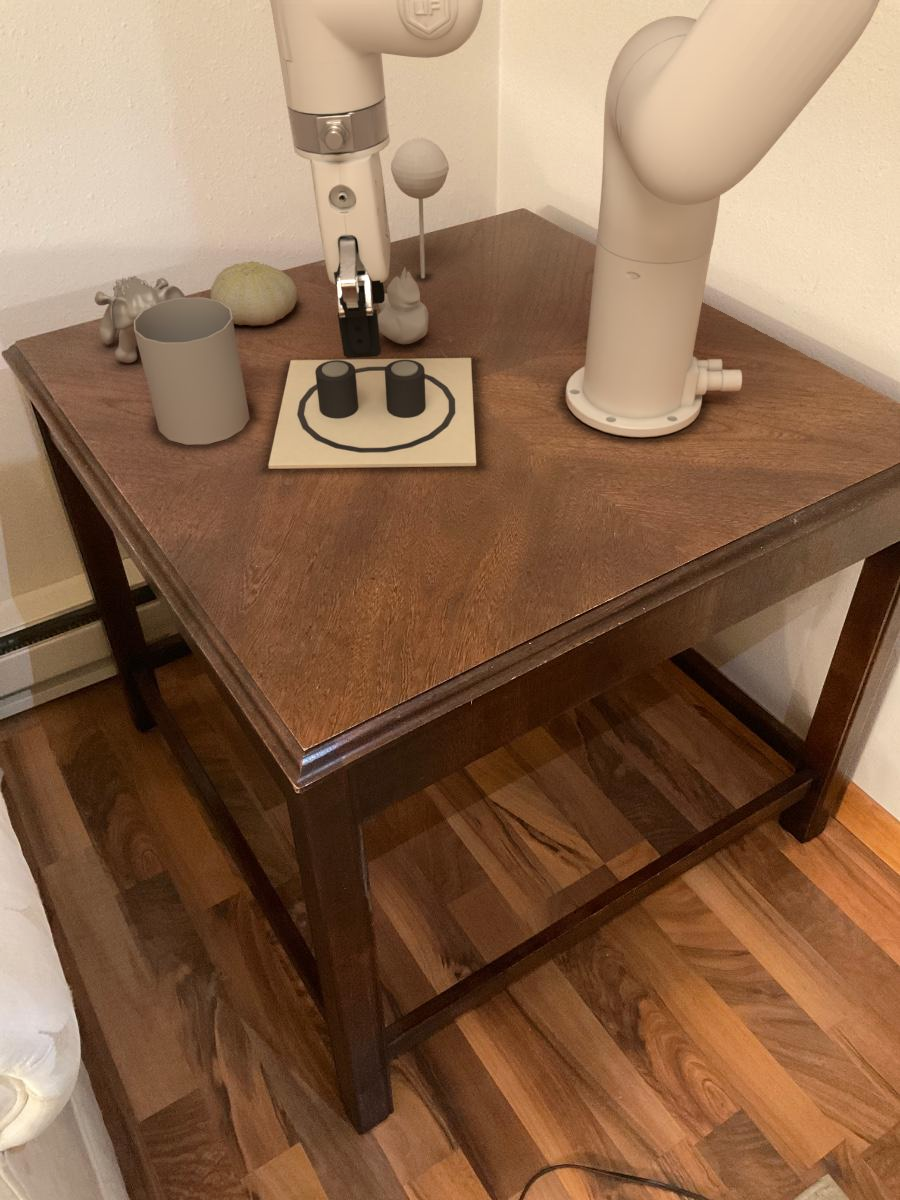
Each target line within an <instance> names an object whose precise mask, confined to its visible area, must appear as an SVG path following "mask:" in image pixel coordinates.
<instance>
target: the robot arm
mask: <svg viewBox="0 0 900 1200" xmlns="http://www.w3.org/2000/svg"><path fill="white" fill-rule="evenodd" d="M269 1H270V8H271V13H272V20H273V26H274V33H275V39H276V44H277V50H278V56H279V62H280V69H281V77H282V82H283V88H284V96H285V101H286V106H287V113H288V119H289V125H290V131H291V132H290V133H291V139H292V146H293V150H294V153H295V154H296V155H297V156H299V157H301V158H303V159H305V160H309V162H310V169H311V177H312V185H313V191H314V199H315V207H316V214H317V220H318V226H319V233H320V240H321V245H322V246H321V247H322V250H323V252H322V253H323V256H324V262H325V269H326V272H327V276H328V280H329V281H330V283H332V284H333V285H334V286H336V292H337V307H338V309H337V310H338V312H337V319H338V326H339V333H340V339H341V346H342V353H343V357H344V358H346V359H355V358H356V359H359V358H372V357H373V358H376V357H379V356H381V354H382V344H381V335H380V334H381V333H380V332H379V326H378V310H377V309H374V304H375V305H378V303H383V302H384V300H385V294H386V293H385V286H384V282H385V281H387V279H388V277H389V275H390V262H391V242H392V241H391V232H390V225H389V218H388V209H387V201H386V191H385V185H384V184H385V183H384V175H383V168H382V162H381V155H380V152H381V151H382V150H385V148H387V147H388V146H389V144H390V142H391V139H390V130H389V119H388V107H387V98H386V88H385V87H386V86H385V78H384V77H385V75H384V66H383V65H384V64H383V57H382V56H383V55H392V56H401V57H408V58H421V59H422V58H424V59H425V58H426V59H429V58H430V59H431V58H438V57H442V56H446V55H448V54H451V53H453V52H455V51H457V50H458V49H459V48H461V47H462V46H463V45H464V44H465V43H467V41H468V40H470V38H471V36H472V35H473V34H474V32H475V30H476V29H477V27H478V25H479V21H480V18H481V15H482V11H483V5H484V0H269ZM880 1H881V0H709V2H708V3H707V4H706V6H705V8H704V9H703V10H702V12H701V13H700V15H699V16H698V17H697V18H693V17H690V16H689V17H688V16H683V15H682V16H681V15H674V16H673V15H672V16H666V17H661V18H658V19H656V20H653V21H651V22H649V23H648V24H646V25H644V26H643V27H641V28H640V29H638V30H637V31H636V32H635V33H634V34H633V35H632V36H631V37H630V38H629V39H628V40H627V42H626V43H625V44H624V45H623V47H622V48H621V49H620V51H619V53H618V55H617V56H616V58H615V60H614V63H613V65H612V67H611V71H610V74H609V76H608V81H607V86H606V91H605V99H604V100H605V101H604V115H603V147H602V148H603V149H602V150H603V152H602V172H601V173H602V174H601V177H602V178H601V188H600V189H601V190H600V191H601V192H600V203H599V213H598V225H597V234H596V243H595V253H594V254H595V255H594V264H593V276H592V286H591V295H590V306H589V317H588V318H589V319H588V327H587V328H588V329H587V337H586V338H587V339H586V340H587V341H586V349H585V359H584V360H585V361H584V366H582V367H580V368H578V370H576V371H575V372H574V373H572V375H571V376H570V377H569V379H568V381H567V382H566V387H565V394H564V395H565V403H566V406H567V407H568V409H569V411H570V412H571V413H572V415H574V416H575V417H576V418H577V419H578V420H580V421H581V422H582V423H584V424H586V425H587V426H589V427H590V428H591V427H592V428H593V429H595V430H599V431H600V432H603V433H608V434H611V435H615V436H621V437H629V438H651V437H652V438H654V437H660V436H666V435H669V434H672V433H676V432H678V431H680V430H682V429H684V428H687V427H688V426H689V425H691V424H692V423H693V422H694V421H695V420H696V419H697V417H698V416H699V414H700V411H701V407H702V404H703V396H704V395H706V393H707V391H708V392H709V391H711V392H712V391H719V392H740V391H741V389H742V385H743V373H742V370H741V369H723V360H722V359H721V358H709V359H698V358H697V357H696V356H694V351H695V345H696V338H697V334H698V333H697V332H698V328H699V321H700V315H701V309H702V305H703V300H704V299H703V298H704V294H705V288H706V282H707V277H708V271H709V266H710V265H709V264H710V259H711V254H712V248H713V245H714V239H715V233H716V229H717V228H716V227H717V223H718V215H719V209H720V202H721V196H722V195H724V194H726V193H727V192H728V191H730V190H731V189H733V188H734V187H736V186H737V185H738V184H740V182H741V181H742V180H744V179H745V178H746V177H747V176H748V175H749V174H750V173H751V172H752V171H753V170H754V168H756V167H757V165H758V164H759V163H760V162H761V161H762V160H763V159H764V158H765V156H766V155H767V154H768V153H769V152H770V150H771V149H772V148H773V147H774V145H775V144H776V143H777V142H778V141H779V139H780V138H781V137H782V136H783V134H784V133H786V131H787V130H788V128H789V127H790V126H791V125H792V124H793V122H794V121H796V119H797V118H798V116H799V115H800V114H801V112H802V111H803V110H804V109H805V107H806V106H807V105H808V104H809V103H810V101H811V100H812V99H813V98H814V96H815V95H816V94H817V93H818V91H819V90H821V88H822V86H824V84H825V83H826V81H827V80H828V79H829V78H830V77H831V76H832V75H833V73H834V72H835V71H836V69H837V68H838V67H839V66H840V64H841V63H842V62H843V61H844V59H845V58H846V57H847V55H848V54H849V53H850V51H851V50H852V49H853V47H854V46H855V45H856V44H857V42H858V41H859V39H860V38H861V37H862V35H863V34H864V32H865V30H866V28H867V27H868V25H869V23H870V22H871V20H872V18H873V16H874V14H875V11H876V10H877V8H878V6H879V3H880ZM382 54H383V55H382Z"/></svg>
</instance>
